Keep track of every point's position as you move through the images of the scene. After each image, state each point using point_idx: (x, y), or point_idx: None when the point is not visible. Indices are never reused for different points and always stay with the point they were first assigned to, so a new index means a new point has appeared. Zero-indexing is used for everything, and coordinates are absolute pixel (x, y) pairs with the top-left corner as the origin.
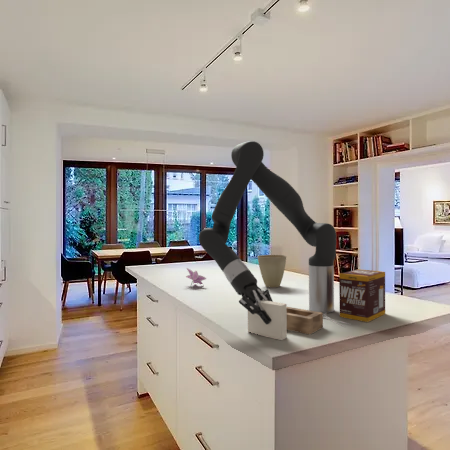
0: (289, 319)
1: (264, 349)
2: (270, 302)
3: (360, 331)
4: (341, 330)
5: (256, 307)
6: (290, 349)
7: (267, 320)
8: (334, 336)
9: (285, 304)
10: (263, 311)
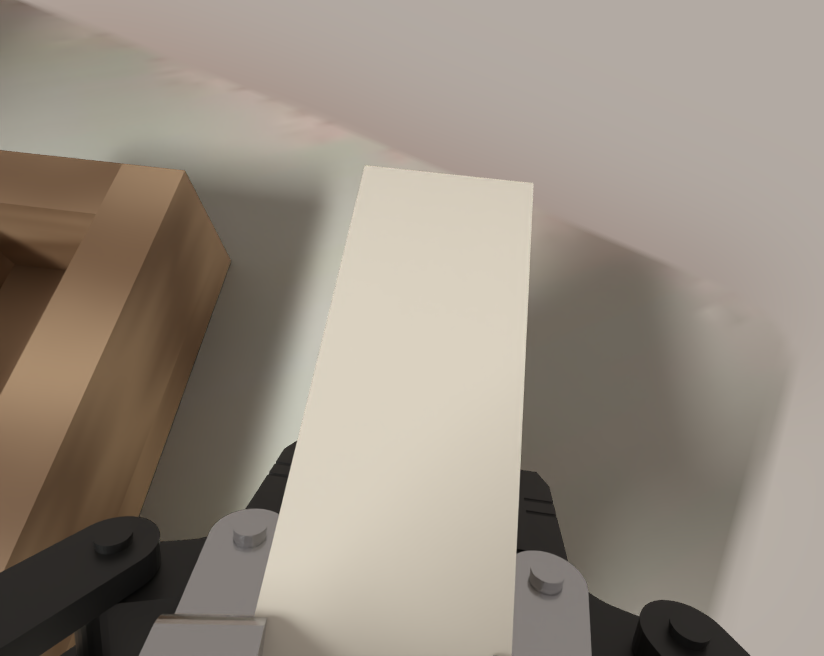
0: (116, 399)
1: (745, 422)
2: (401, 427)
3: (53, 53)
4: (58, 129)
5: (706, 651)
6: (609, 270)
7: (536, 479)
8: (209, 135)
9: (395, 171)
10: (528, 551)
